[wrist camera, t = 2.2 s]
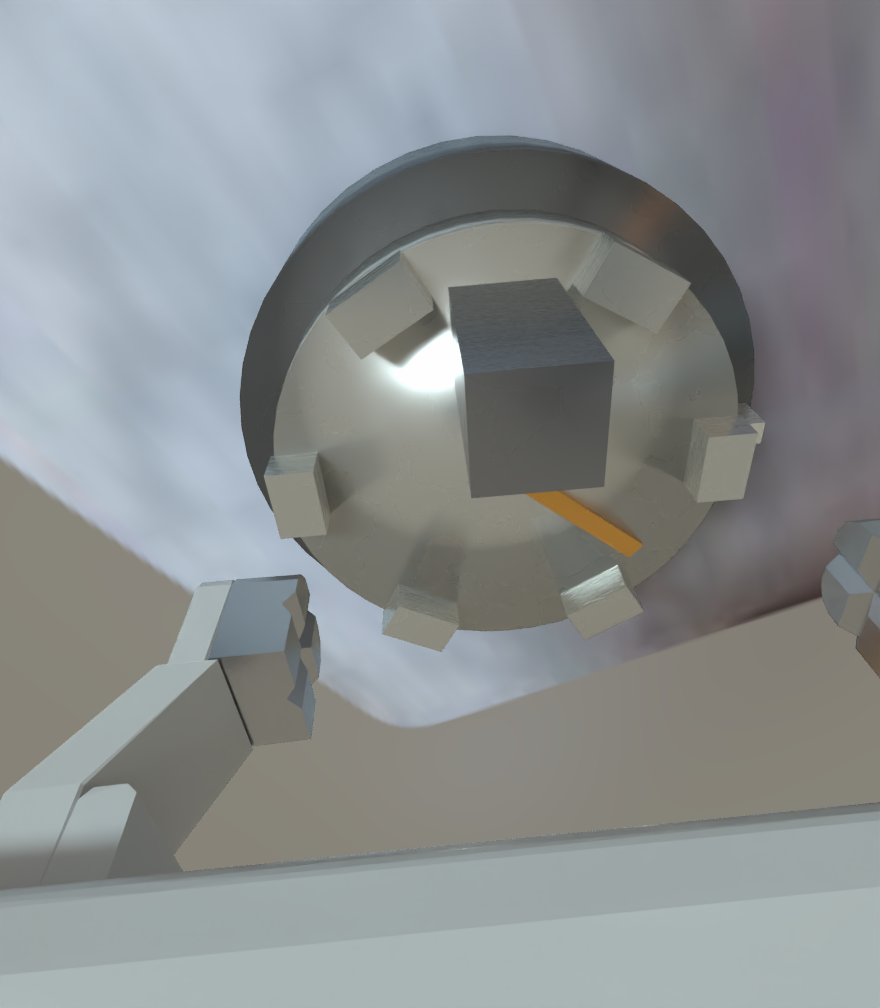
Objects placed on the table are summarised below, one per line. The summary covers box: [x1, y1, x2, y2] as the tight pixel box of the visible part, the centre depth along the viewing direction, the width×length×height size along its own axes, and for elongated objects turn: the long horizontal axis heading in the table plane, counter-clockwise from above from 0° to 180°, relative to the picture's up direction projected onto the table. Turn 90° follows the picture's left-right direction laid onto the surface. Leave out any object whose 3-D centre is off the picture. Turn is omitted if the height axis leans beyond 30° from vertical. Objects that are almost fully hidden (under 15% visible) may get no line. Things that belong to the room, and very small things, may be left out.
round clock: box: [264, 209, 758, 652], centre depth 20 cm, size 15×15×8 cm
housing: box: [240, 136, 765, 567], centre depth 24 cm, size 18×18×6 cm
